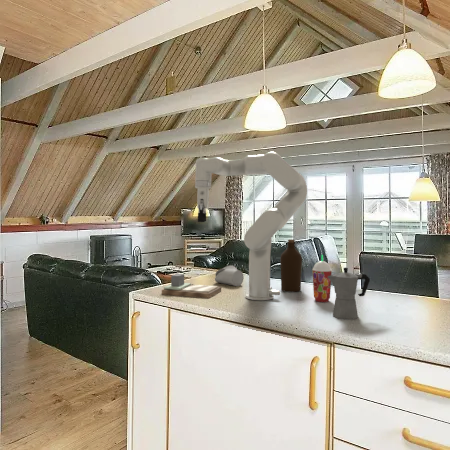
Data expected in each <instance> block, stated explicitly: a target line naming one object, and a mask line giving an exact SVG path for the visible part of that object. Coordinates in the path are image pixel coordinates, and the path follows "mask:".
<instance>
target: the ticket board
mask: <svg viewBox="0 0 450 450" xmlns="http://www.w3.org/2000/svg"><path fill="white" fill-rule="evenodd" d="M221 292H222V286H219V285H205V284H194V283H191V285H189V286H187V287H185V288H183V289H180V290H173V289H164V288H163V289H161V295H166V296H176V297H177V296H180V297H190V298H191V297H193V298H207V299H210V298H212V297H214V296H216V295H217V294H219V293H221Z"/></svg>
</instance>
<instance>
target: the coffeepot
mask: <svg viewBox="0 0 450 450" xmlns="http://www.w3.org/2000/svg"><path fill="white" fill-rule="evenodd" d="M348 270H349V268H348V267H343V272H338V273H334V274H332V275H330V276H328V278H329V279H330V280H331V285H332V286H333V288H334V293H335V301H334V305H333V310H332V316H333V318H337V319H340V320H356V319H358V318H359V317H358V316H359V314H358V309H357V301H356V293H357V287H358V281H359V280H364V282H363V287H362V288H361V293H358V297H364V296H365V295H366V292H367V289H368V286H369V284H370V281H371V280H370V277H369V276H368V275H367V274H366V273H351V272H348Z"/></svg>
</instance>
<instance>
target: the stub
mask: <svg viewBox="0 0 450 450" xmlns="http://www.w3.org/2000/svg"><path fill="white" fill-rule="evenodd" d="M170 278H171V279H170V280H171V281H170V282H171V283H170V284H169V285H168V284H167V285H165V286H164V287H163V289H173V290H180V289H183V288H185V287H187V286H189V285H192V283H190V282H185V274H184V273H175V274H172V275H171V276H170Z"/></svg>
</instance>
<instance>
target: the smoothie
mask: <svg viewBox="0 0 450 450" xmlns="http://www.w3.org/2000/svg"><path fill="white" fill-rule="evenodd" d="M320 256H321V257H320V258H321V260H320V261H317V262H316V263H315V264H314V265H313V267H312V269H311V270H312V286H313V289H312V290H313V298H314V300H315V301H316V302H318V303H328V302H329V300H330V298H331V288H332V282H331V280H330V279H329V278H328V276H330V275H333V273H332V272H333V269H332V267H331V265H330V264H329V263H328V262H327V261H325V260H324V255H323V254H321V255H320Z"/></svg>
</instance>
